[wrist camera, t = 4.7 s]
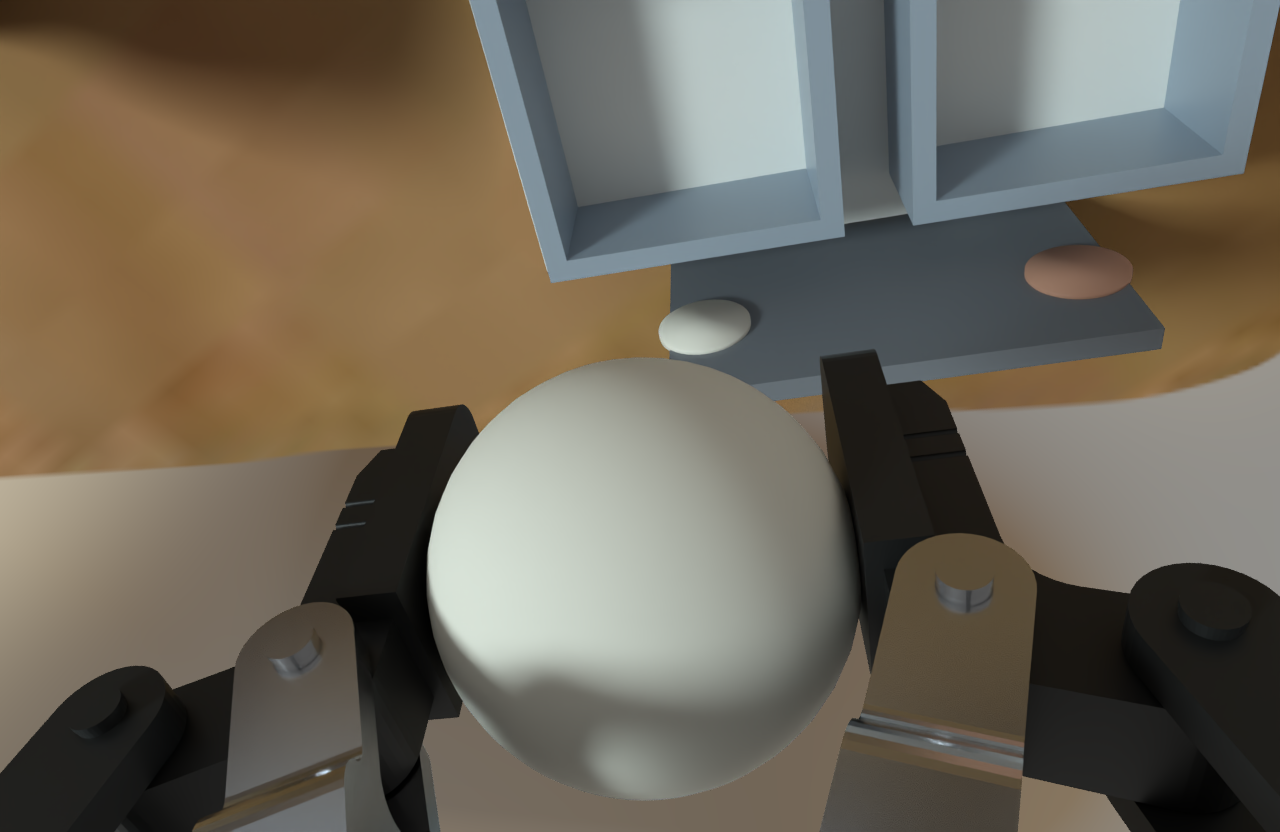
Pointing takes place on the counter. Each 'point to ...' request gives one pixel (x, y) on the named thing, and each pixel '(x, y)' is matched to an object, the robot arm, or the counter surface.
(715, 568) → the cream ball
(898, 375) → the card
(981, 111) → the rack
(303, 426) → the counter surface
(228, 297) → the counter surface
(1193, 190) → the counter surface
